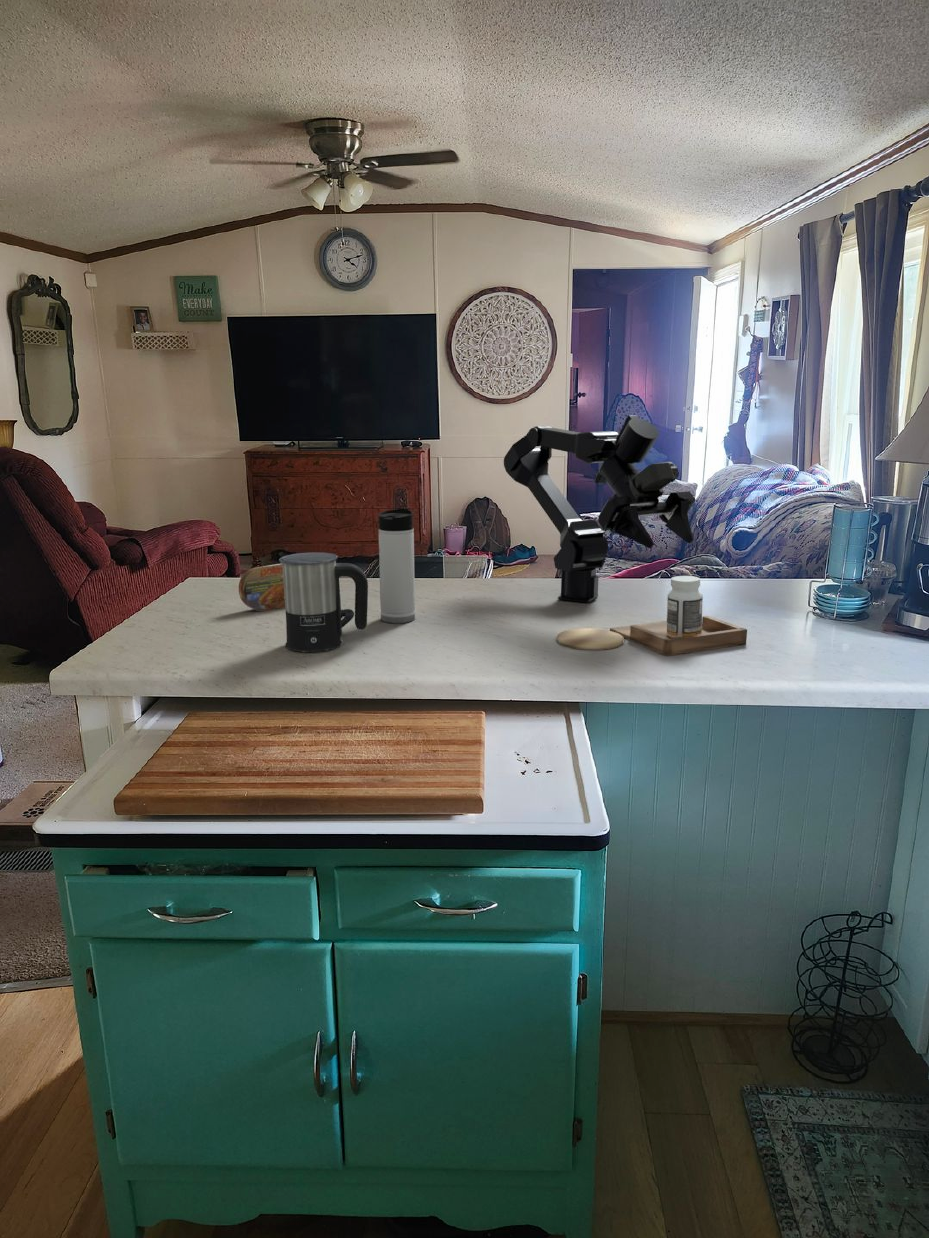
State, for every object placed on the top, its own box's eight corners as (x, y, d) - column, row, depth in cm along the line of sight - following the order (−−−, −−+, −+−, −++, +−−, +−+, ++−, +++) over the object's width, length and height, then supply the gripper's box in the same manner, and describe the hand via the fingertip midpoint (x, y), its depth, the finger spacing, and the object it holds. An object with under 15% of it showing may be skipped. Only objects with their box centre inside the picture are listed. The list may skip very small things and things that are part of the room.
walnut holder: (609, 631, 152) (610, 617, 151) (684, 621, 158) (685, 608, 158) (666, 655, 138) (667, 640, 137) (746, 644, 144) (747, 629, 144)
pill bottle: (702, 633, 148) (704, 575, 146) (700, 642, 143) (702, 582, 140) (668, 631, 150) (669, 574, 147) (664, 640, 145) (666, 581, 142)
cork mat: (547, 644, 144) (547, 641, 144) (570, 628, 154) (570, 625, 153) (611, 653, 139) (612, 649, 139) (631, 636, 149) (631, 633, 149)
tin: (245, 614, 164) (242, 570, 162) (237, 611, 166) (234, 567, 164) (315, 602, 173) (314, 560, 171) (308, 599, 176) (306, 558, 173)
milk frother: (293, 656, 138) (289, 564, 134) (267, 632, 151) (262, 548, 148) (378, 645, 144) (375, 556, 140) (345, 623, 158) (342, 541, 154)
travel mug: (421, 616, 162) (420, 508, 157) (404, 625, 156) (402, 513, 151) (392, 613, 164) (390, 506, 159) (374, 621, 159) (371, 511, 154)
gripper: (605, 449, 149) (653, 514, 141) (686, 446, 158) (735, 506, 150) (579, 498, 156) (622, 561, 149) (657, 492, 166) (702, 551, 158)
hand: (672, 544), depth 151 cm, fingers open, 9 cm apart
